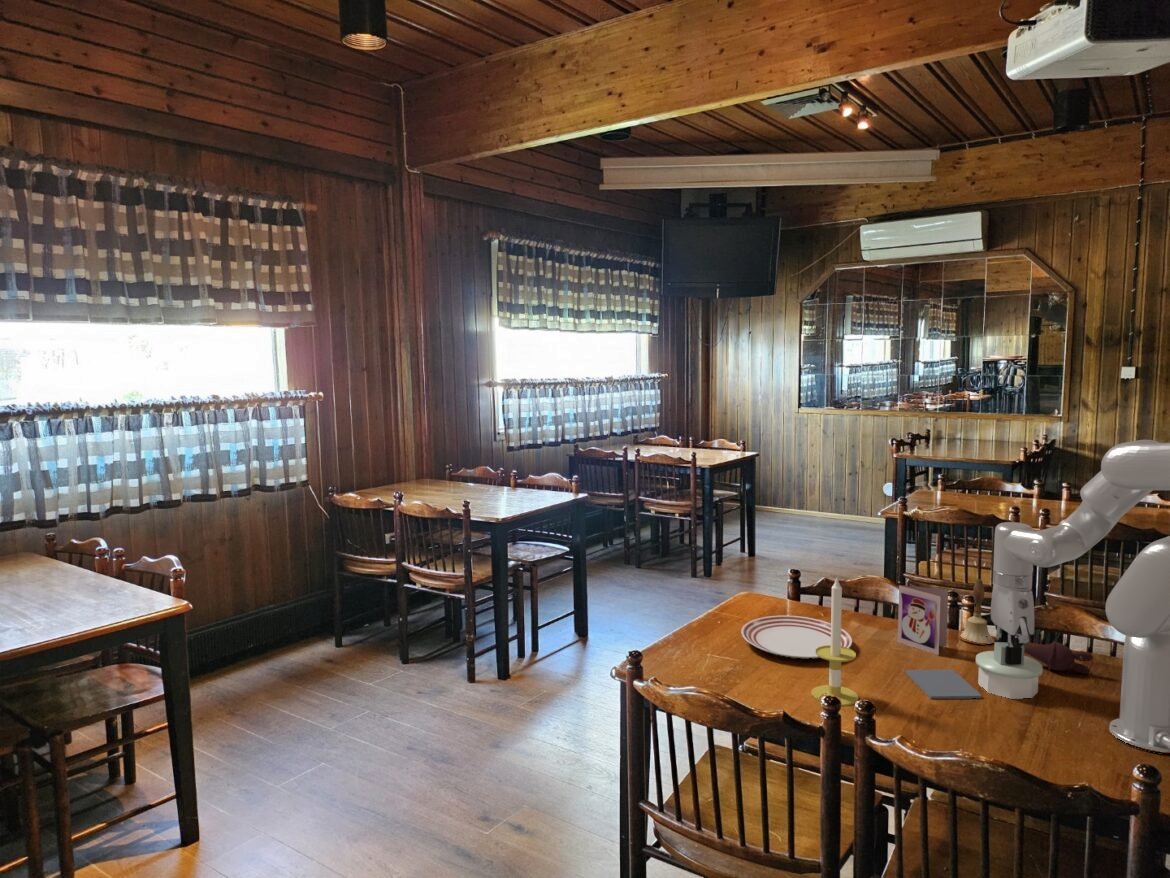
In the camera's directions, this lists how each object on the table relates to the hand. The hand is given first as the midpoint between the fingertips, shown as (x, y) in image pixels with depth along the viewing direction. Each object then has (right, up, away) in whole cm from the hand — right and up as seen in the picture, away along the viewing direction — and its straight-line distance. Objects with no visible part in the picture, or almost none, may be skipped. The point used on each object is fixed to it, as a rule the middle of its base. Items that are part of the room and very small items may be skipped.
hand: (1008, 659), depth 173 cm
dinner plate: (-39, -5, +28) cm, 49 cm away
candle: (-39, -8, -2) cm, 40 cm away
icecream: (+16, -5, +10) cm, 20 cm away
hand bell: (+8, -3, +29) cm, 31 cm away
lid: (0, -2, 0) cm, 2 cm away
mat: (-13, -6, +3) cm, 15 cm away
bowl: (0, -7, +1) cm, 7 cm away
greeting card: (-8, -4, +26) cm, 27 cm away
